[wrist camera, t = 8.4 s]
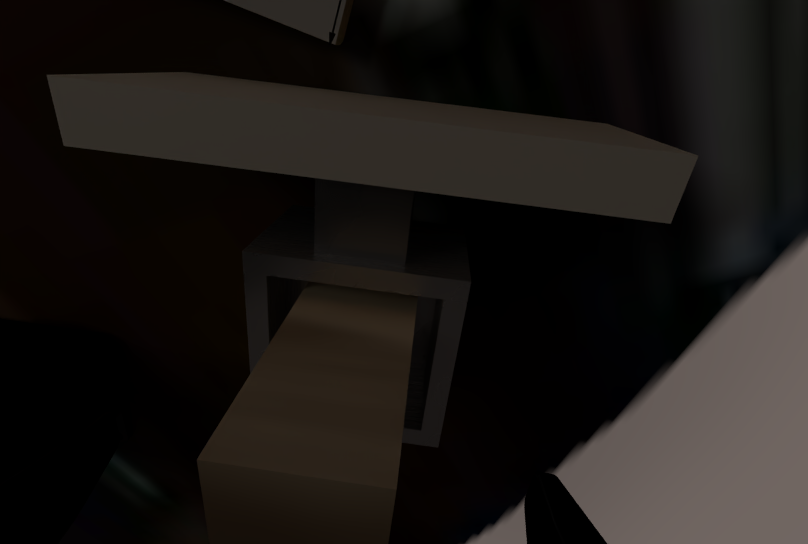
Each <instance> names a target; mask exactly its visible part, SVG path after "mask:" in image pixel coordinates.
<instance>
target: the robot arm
mask: <svg viewBox="0 0 808 544" xmlns="http://www.w3.org/2000/svg"><path fill="white" fill-rule="evenodd" d="M132 435H133V428H132V424H131V420H130V416H129V412H128V408H127V404H126V400H125V395H124V391H123V387H122V383H121V379H120V375H119V371H118V366H117V362H116V358H115V354H114V350H113V346H112V343H111V340H110V339H109V338H108V337H107V336H105V335H104V334H101V333H95V332H88V331H81V330H74V329H67V328H60V327H53V326H46V325H38V324H31V323H24V322H17V321H10V320H3V319H0V544H59V542H60V541H61V539H62V538H63V536H64V535H65V534H66V532H67V531H68V529H69V528H70V526H71V525H72V523H73V522H74V520H75V519H76V517H77V516H78V514H79V512H80V511H81V509H82V508H83V506H84V504H85V503H86V501H87V499H88V497H89V496H90V494H91V492H92V491H93V489H94V487H95V485H96V484H97V482H98V480H99V479H100V477H101V475H102V473H103V472H104V470H105V468H106V467H107V465H108V463H109V461H110V460H111V458H112V456H113V455H114V453H115V451H116V449H117V447H118V445H119V443H125V442H127V441H128V440H129V438H130V437H131V436H132ZM524 508H525V522H526V535H527V544H607V543H606V542H605V540H604V539H603V537H602V536H601V535H600V533H599V532H598V531H597V529H596V528H595V527H594V526H593V524H592V523H591V521H590V520H589V519H588V517H587V516H586V515H585V513H584V512H583V511H582V509H581V508H580V507H579V505H578V504H577V503H576V501H575V500H574V499H573V497H572V496H571V495H570V493H569V492H568V491H567V489H566V488H565V487H564V485H563V484H562V483H561V481H560V480H559V479H558V477H557V476H555V475H553V474H549V473H542V472H536V473H535V474H534V475H533V478H532V480H531V483H530V486H529V489H528V491H527V494H526V497H525V507H524Z"/></svg>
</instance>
